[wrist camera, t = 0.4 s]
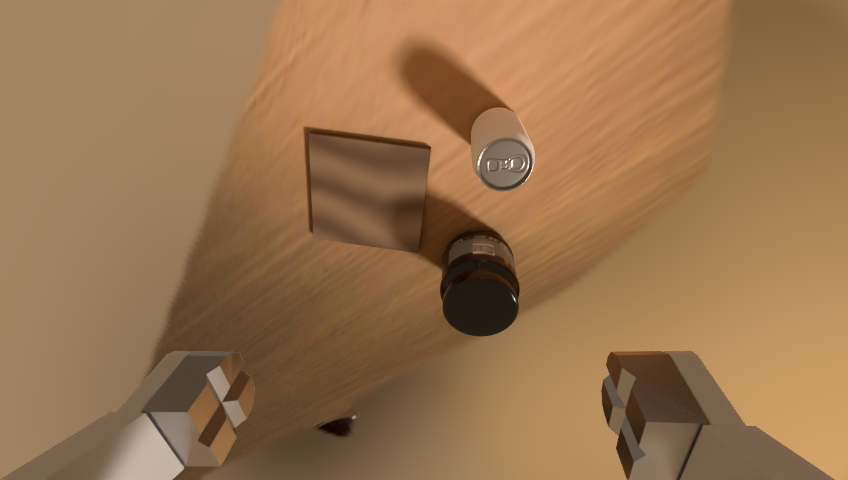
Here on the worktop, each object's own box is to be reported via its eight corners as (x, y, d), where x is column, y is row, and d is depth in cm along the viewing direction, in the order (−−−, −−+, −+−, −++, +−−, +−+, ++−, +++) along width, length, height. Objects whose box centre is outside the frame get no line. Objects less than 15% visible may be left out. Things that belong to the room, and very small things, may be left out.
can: (522, 155, 50) (536, 193, 40) (471, 159, 51) (473, 197, 41) (522, 103, 47) (539, 130, 37) (469, 109, 48) (470, 136, 38)
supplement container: (465, 294, 63) (465, 350, 53) (429, 247, 59) (422, 297, 49) (525, 267, 59) (537, 321, 49) (491, 214, 55) (497, 262, 45)
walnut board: (310, 131, 51) (308, 133, 50) (431, 147, 51) (430, 149, 50) (315, 235, 60) (313, 238, 59) (418, 249, 59) (418, 252, 58)
